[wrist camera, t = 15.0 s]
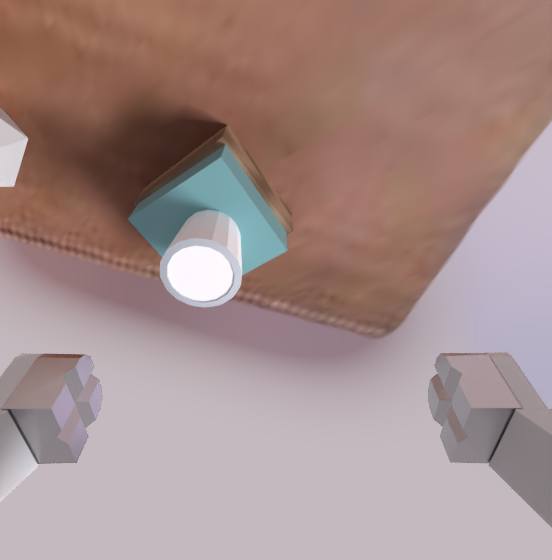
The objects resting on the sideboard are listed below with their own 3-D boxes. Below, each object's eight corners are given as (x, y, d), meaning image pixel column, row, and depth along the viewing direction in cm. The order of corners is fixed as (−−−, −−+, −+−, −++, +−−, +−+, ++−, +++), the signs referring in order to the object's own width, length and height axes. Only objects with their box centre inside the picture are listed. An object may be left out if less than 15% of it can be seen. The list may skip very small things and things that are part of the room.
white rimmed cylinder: (169, 254, 41) (151, 295, 35) (185, 193, 37) (168, 227, 31) (235, 274, 42) (228, 317, 36) (256, 217, 39) (253, 254, 33)
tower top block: (139, 202, 42) (127, 219, 39) (225, 144, 39) (221, 157, 35) (205, 278, 47) (199, 298, 44) (286, 232, 44) (287, 250, 41)
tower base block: (144, 186, 46) (131, 204, 42) (227, 124, 43) (222, 136, 38) (212, 261, 52) (206, 283, 48) (291, 211, 48) (292, 231, 44)
